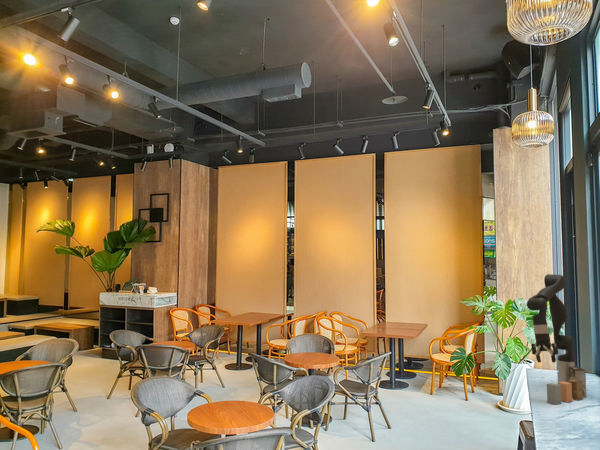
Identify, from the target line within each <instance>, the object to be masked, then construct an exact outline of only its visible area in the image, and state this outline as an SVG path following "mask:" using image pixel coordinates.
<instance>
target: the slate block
mask: <svg viewBox="0 0 600 450" xmlns="http://www.w3.org/2000/svg"><path fill="white" fill-rule="evenodd" d="M546 398H547V403H549V404H552V405H559V404H562V402H563V401H561V385H558V383H554V382H552V383H551V382H550V383H546Z"/></svg>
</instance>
